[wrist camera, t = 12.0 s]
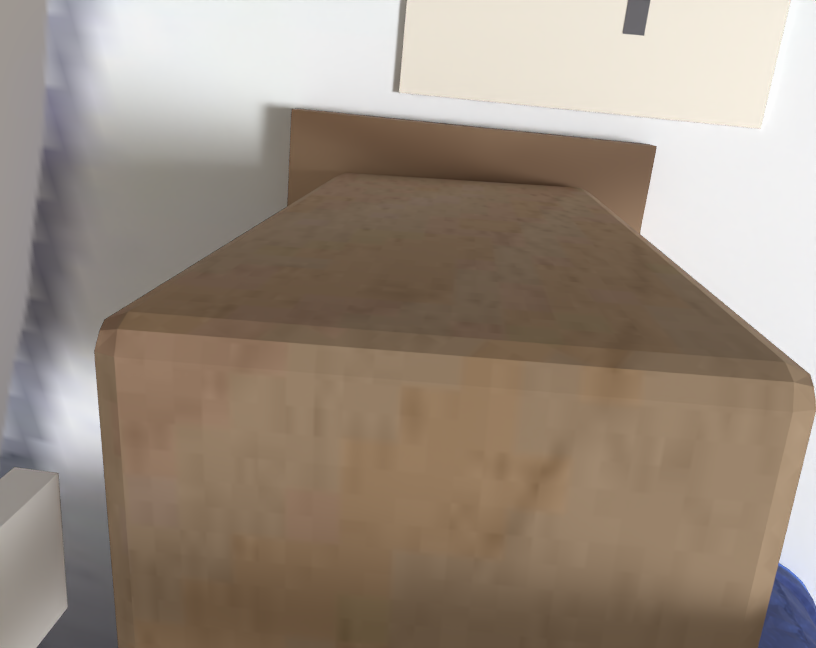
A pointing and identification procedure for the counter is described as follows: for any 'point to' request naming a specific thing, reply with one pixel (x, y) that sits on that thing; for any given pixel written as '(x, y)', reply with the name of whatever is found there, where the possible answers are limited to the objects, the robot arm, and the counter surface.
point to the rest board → (466, 157)
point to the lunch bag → (789, 614)
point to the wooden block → (444, 433)
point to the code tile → (599, 55)
